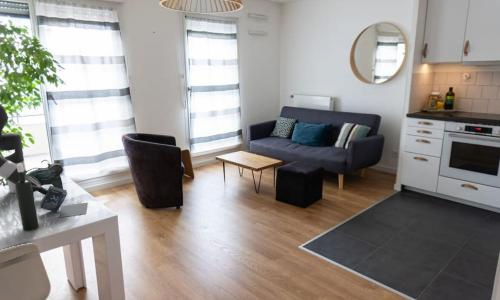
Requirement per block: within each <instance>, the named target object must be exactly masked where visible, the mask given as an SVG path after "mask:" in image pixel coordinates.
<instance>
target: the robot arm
mask: <svg viewBox="0 0 500 300" xmlns="http://www.w3.org/2000/svg"><path fill="white" fill-rule="evenodd" d="M8 121H9V116H8V113H7V111H6V109H5V107H4V106H3V105H2V104H1V103H0V151H3V152H4V151H14V152H12V153H11V154H8V155H6V156H3V155H0V177H1V178H4V179H5V180H7V185H8V191H9V193H10V194H17V193H16V188H15V185H16V183H17V182H19V181H20V179H19V174H18V170H17V164H19V163H21V164H22V163H23V168H24V175H25V180H28V181H30V182H31V184H32V190H33V192H34V193H35V192H39V193H40V194H41V195H43V196H45V195H46V193H47V192H48V189H46V188H45V187H43V186H41V183H40V182H39V181H38V180H37V179H36V178H35V177H34V176H32V177H30V176H28V175H27V174H28V172H27V171H28V170H27V169H26V164H25V157H24V151H23V143H22V137H21V135H20V134H19V133H18V132H13V133H11V132H10V133H8V132H7V133H3V129H4V128H5V126H6V125H7V124H8Z"/></svg>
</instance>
